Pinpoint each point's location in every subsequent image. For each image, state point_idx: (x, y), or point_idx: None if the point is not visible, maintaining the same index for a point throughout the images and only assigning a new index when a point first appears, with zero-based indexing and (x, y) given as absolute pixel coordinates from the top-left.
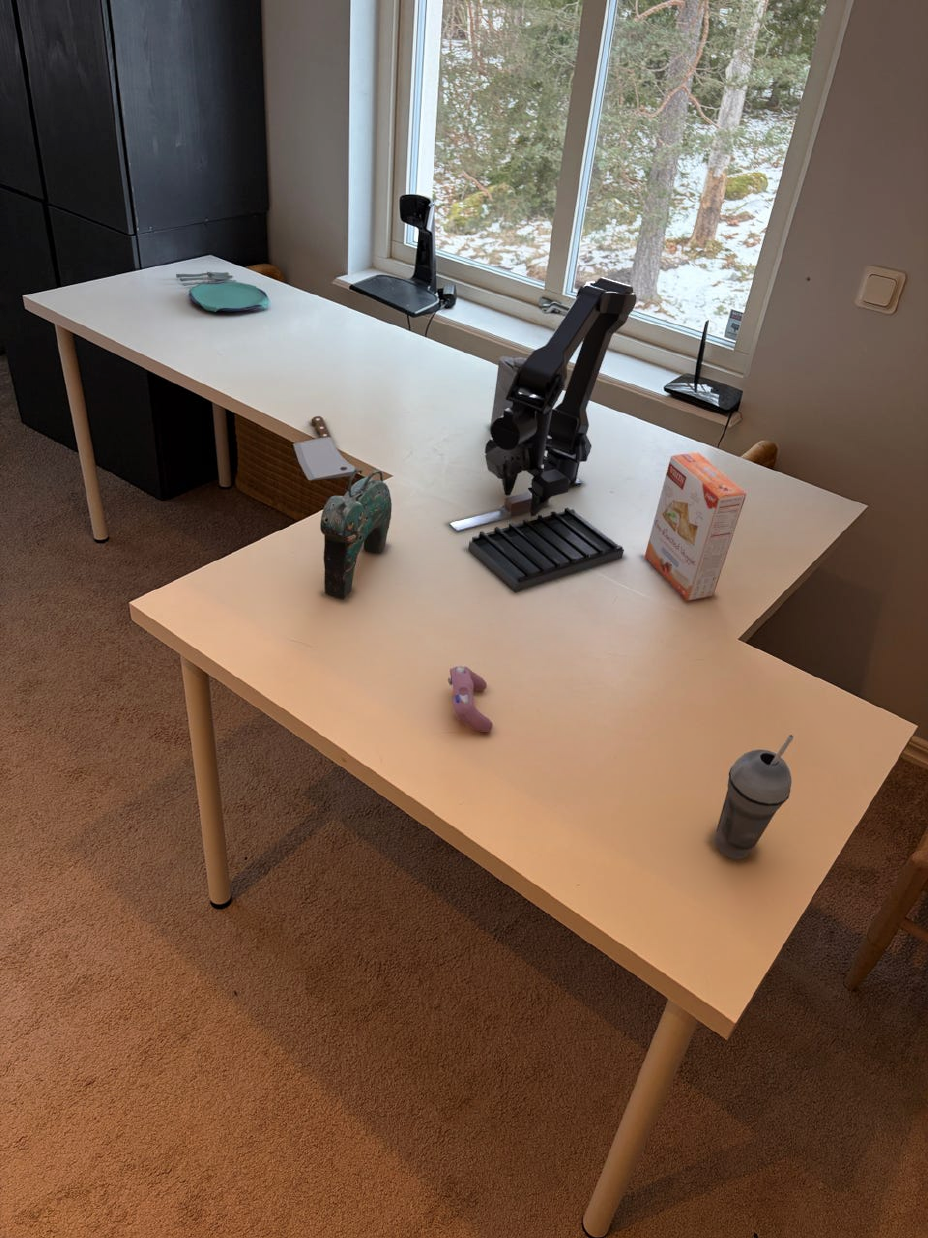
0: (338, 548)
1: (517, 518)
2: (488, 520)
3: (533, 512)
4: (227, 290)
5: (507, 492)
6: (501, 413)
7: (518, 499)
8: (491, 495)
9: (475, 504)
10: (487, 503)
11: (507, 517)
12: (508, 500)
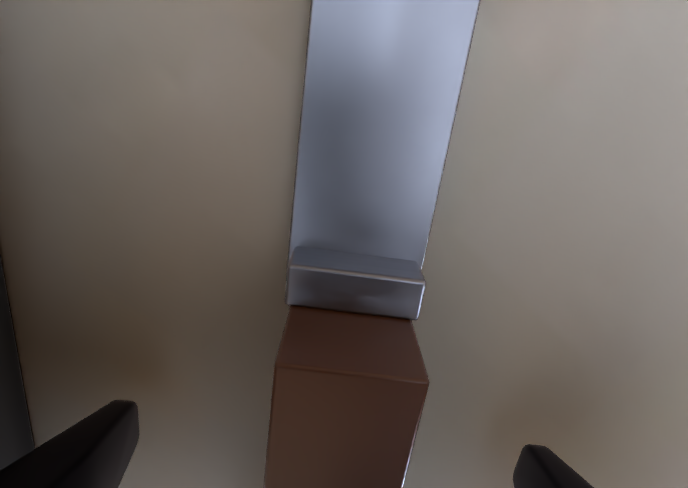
0: None
1: (244, 312)
2: (339, 9)
3: (57, 441)
4: None
5: (536, 482)
6: None
7: (314, 478)
8: (643, 373)
9: (666, 147)
10: (588, 261)
11: (289, 244)
12: (362, 378)
